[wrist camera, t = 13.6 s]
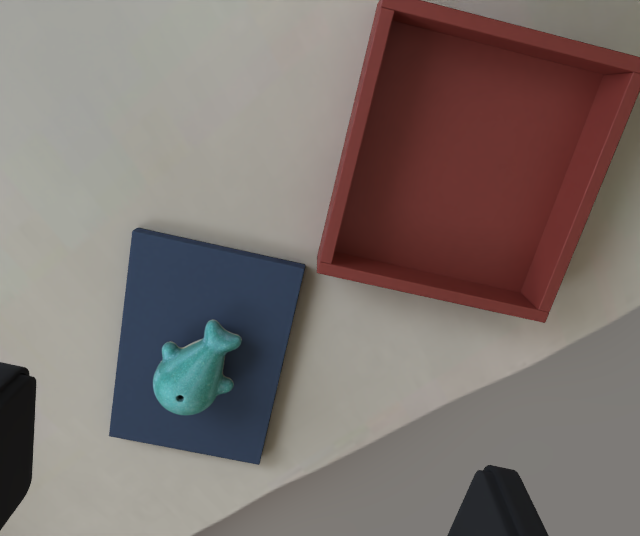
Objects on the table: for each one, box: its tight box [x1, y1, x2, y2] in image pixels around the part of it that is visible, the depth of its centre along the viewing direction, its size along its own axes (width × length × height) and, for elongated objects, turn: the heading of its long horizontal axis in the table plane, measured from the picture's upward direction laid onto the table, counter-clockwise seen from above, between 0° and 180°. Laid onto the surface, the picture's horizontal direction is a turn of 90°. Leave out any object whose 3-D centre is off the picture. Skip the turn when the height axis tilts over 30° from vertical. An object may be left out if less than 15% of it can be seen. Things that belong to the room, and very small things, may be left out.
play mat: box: [109, 228, 305, 465], centre depth 37 cm, size 17×12×1 cm
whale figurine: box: [153, 320, 242, 415], centre depth 35 cm, size 6×7×4 cm
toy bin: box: [317, 0, 640, 323], centre depth 32 cm, size 17×16×4 cm
